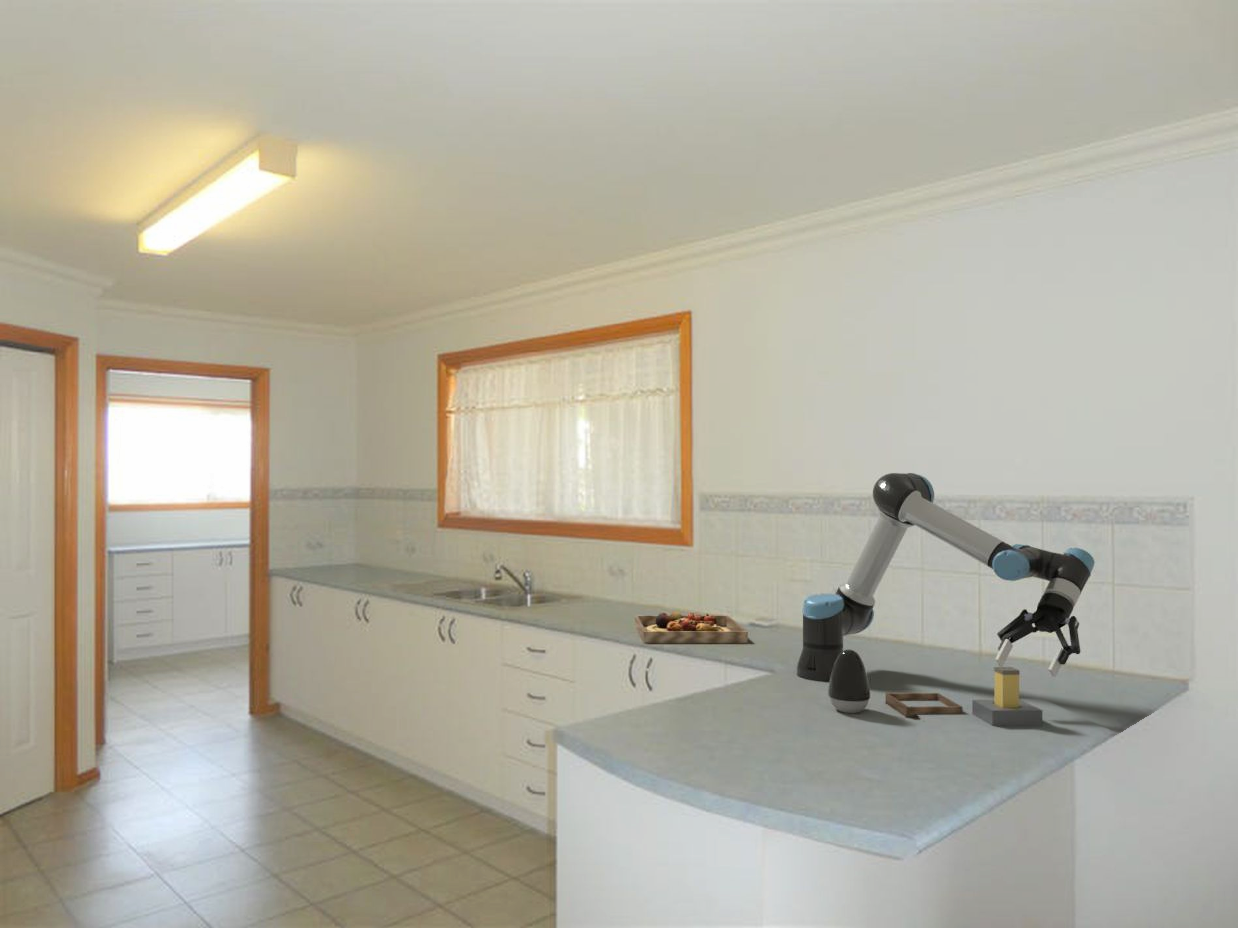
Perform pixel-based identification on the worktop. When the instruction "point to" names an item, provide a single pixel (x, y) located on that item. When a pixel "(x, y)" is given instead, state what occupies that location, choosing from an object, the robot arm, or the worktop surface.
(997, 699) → the plug
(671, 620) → the wooden plate with food
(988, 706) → the grey block with hole
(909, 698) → the tray
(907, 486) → the robot arm
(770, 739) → the worktop surface
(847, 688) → the black egg shaped container
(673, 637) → the wooden fruit tray
